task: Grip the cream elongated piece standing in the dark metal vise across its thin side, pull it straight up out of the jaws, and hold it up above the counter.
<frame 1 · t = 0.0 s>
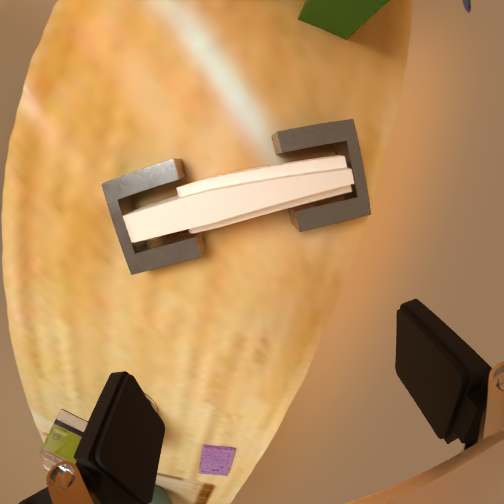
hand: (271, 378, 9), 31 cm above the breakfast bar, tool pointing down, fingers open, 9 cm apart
sponges: (216, 457, 56), on the breakfast bar
tea box: (89, 431, 52), on the breakfast bar
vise: (237, 190, 38), on the breakfast bar
green round bowl: (150, 487, 61), on the breakfast bar
cream elongated piece: (238, 190, 38), on the breakfast bar
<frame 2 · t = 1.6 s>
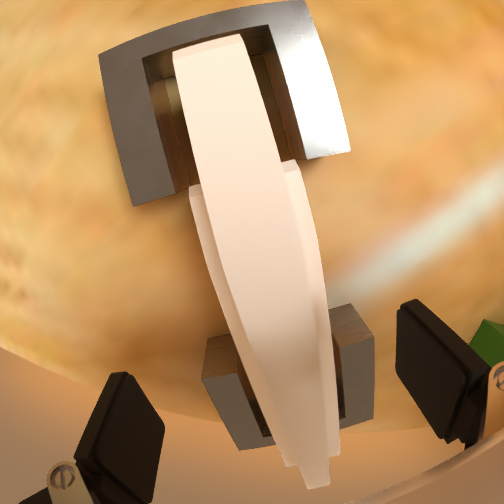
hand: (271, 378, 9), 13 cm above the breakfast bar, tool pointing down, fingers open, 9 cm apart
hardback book: (498, 351, 27), on the breakfast bar
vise: (262, 253, 21), on the breakfast bar
cream elongated piece: (264, 257, 22), on the breakfast bar
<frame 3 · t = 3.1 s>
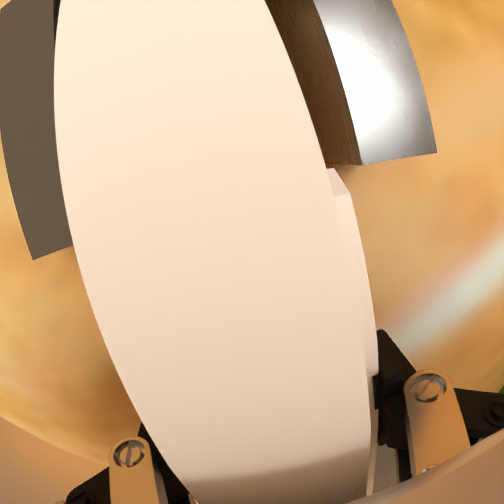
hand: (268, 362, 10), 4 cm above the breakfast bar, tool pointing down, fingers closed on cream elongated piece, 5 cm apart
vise: (263, 312, 13), on the breakfast bar
cream elongated piece: (262, 320, 14), on the breakfast bar, touching gripper
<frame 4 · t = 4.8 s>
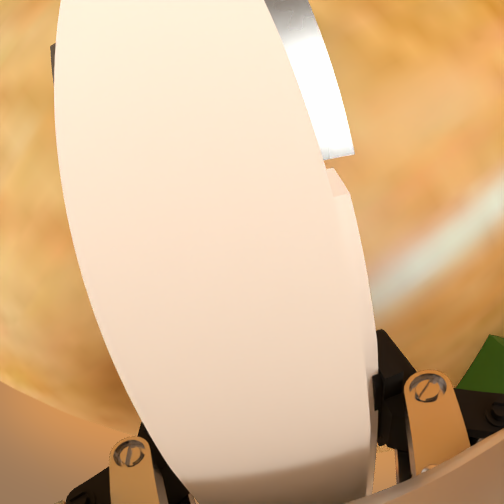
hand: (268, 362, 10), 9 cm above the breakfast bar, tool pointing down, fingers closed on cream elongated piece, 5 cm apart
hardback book: (502, 365, 25), on the breakfast bar
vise: (246, 275, 18), on the breakfast bar
cream elongated piece: (262, 320, 14), point 5 cm above the breakfast bar, touching gripper
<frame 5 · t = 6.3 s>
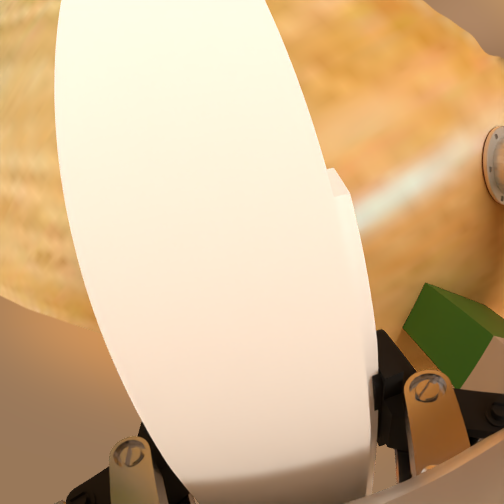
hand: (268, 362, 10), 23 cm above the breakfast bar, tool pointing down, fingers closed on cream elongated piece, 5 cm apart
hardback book: (448, 315, 39), on the breakfast bar
cream elongated piece: (262, 320, 14), point 19 cm above the breakfast bar, touching gripper
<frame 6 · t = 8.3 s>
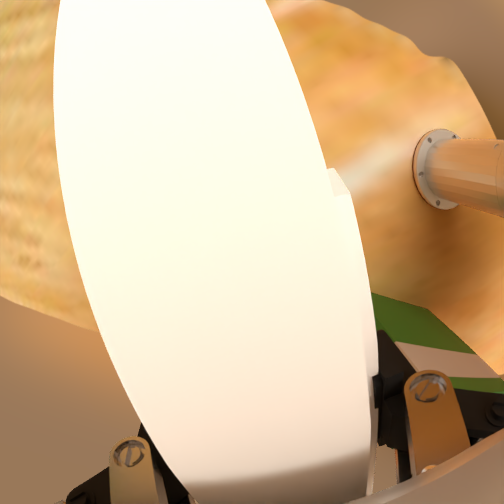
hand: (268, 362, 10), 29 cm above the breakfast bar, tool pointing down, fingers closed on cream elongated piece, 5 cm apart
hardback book: (382, 317, 44), on the breakfast bar
cream elongated piece: (262, 320, 14), point 25 cm above the breakfast bar, touching gripper
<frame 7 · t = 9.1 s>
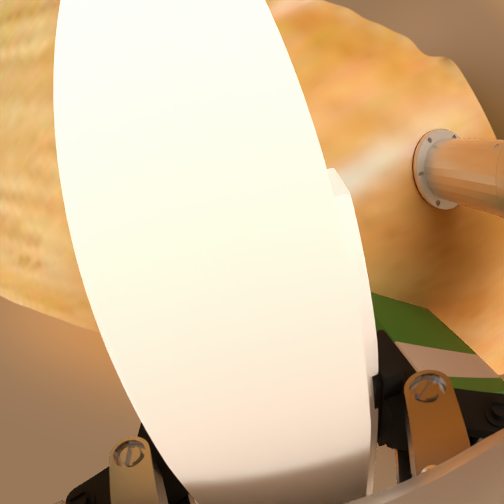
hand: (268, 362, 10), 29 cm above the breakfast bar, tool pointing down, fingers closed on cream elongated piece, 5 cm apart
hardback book: (382, 317, 44), on the breakfast bar
cream elongated piece: (262, 320, 14), point 25 cm above the breakfast bar, touching gripper
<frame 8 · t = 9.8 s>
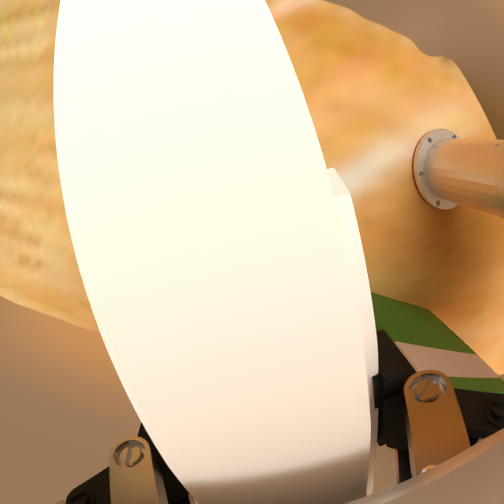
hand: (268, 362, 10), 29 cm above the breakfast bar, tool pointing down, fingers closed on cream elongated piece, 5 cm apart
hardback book: (382, 317, 44), on the breakfast bar
cream elongated piece: (262, 320, 14), point 25 cm above the breakfast bar, touching gripper
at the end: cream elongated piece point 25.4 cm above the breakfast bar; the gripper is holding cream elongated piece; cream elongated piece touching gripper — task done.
